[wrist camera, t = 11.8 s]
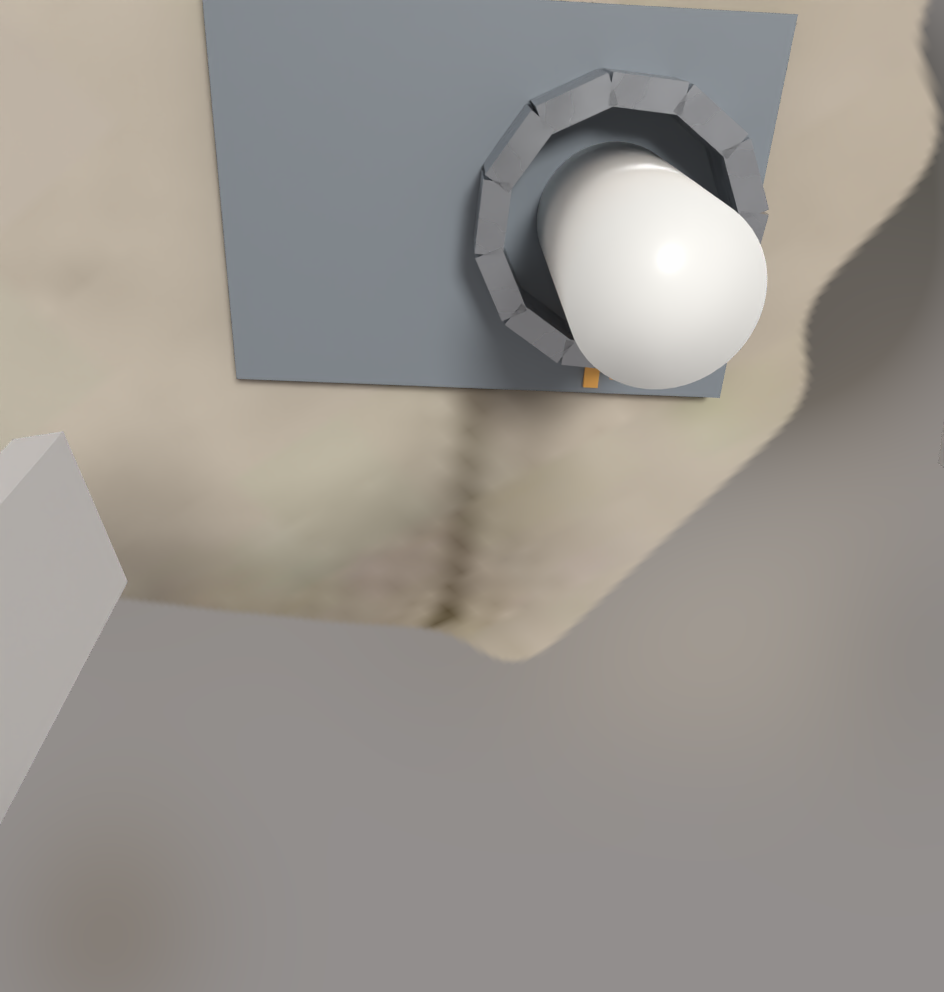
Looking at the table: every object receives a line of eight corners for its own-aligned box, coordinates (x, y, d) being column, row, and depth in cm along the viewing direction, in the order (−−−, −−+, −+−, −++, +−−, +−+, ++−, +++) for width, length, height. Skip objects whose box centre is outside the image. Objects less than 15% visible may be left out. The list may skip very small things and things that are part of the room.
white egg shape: (556, 126, 31) (596, 172, 22) (702, 158, 31) (797, 214, 23) (520, 283, 34) (543, 378, 25) (656, 309, 34) (724, 412, 25)
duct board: (243, 368, 36) (235, 380, 35) (209, -19, 29) (199, -20, 28) (712, 386, 37) (720, 399, 36) (785, 14, 30) (799, 14, 29)
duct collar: (423, 247, 33) (421, 263, 31) (595, 4, 29) (606, 4, 27) (620, 392, 36) (631, 417, 34) (799, 190, 32) (824, 203, 30)
